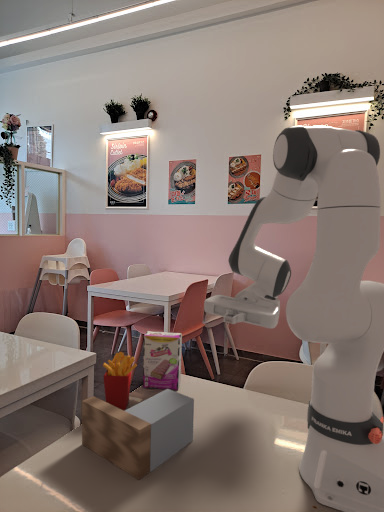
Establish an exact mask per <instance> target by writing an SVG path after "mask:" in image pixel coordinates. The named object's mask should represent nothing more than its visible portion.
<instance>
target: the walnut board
mask: <svg viewBox="0 0 384 512" xmlns="http://www.w3.org/2000/svg"><path fill="white" fill-rule="evenodd" d="M81 417H82V418H81V441H82V442H81V443H82V445H83V446H84V447H85V448H87V449H89V450H90V451H91V452H93V453H95V454H97V455H99V456H100V457H101V458H103V459H105V460H106V461H108V462H109V463H111V464H112V465H114V466H116V467H118V468H119V469H121V470H122V471H124V472H125V473H127V474H128V475H130V476H132V477H134V478H135V479H137V480H138V481H140V480H141V479H142V478H144V477H145V476H147V475H148V474H149V473H151V472H150V444H151V423H148V422H146V421H144V420H142V419H140V418H138V417H136V416H134V415H132V414H130V413H128V412H126V411H123V410H121V409H119V408H117V407H115V406H113V405H111V404H109V403H107V402H106V400H102V399H100V398H98V397H97V396H94V395H92V396H91V397H88V398H86V399H83V400H81Z"/></svg>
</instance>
